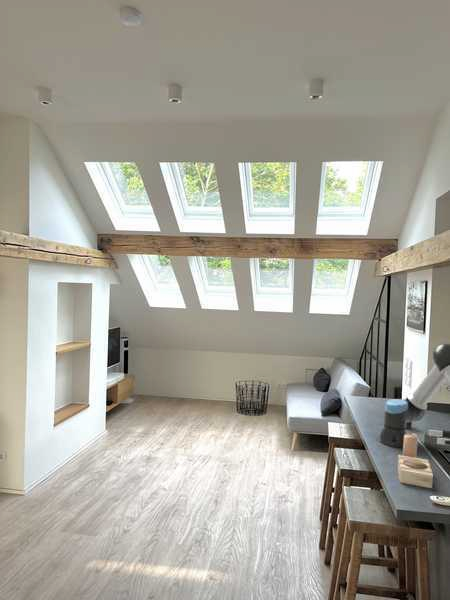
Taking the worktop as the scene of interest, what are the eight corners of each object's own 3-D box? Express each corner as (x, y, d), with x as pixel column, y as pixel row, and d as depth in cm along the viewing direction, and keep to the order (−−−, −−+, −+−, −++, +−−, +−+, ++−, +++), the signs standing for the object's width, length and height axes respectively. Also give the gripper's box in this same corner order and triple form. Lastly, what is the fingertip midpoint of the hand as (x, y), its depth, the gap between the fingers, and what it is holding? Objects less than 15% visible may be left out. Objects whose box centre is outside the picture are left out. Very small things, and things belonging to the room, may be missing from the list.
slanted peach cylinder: (407, 456, 236) (409, 433, 236) (418, 461, 231) (420, 437, 230) (399, 458, 233) (401, 434, 232) (410, 463, 227) (412, 438, 227)
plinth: (397, 466, 221) (398, 454, 221) (427, 471, 217) (428, 458, 217) (399, 482, 202) (400, 468, 202) (431, 488, 198) (433, 474, 198)
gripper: (489, 457, 214) (440, 452, 217) (468, 441, 239) (425, 436, 242) (490, 441, 214) (441, 436, 217) (469, 426, 239) (426, 422, 242)
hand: (433, 436), depth 229 cm, fingers open, 13 cm apart
